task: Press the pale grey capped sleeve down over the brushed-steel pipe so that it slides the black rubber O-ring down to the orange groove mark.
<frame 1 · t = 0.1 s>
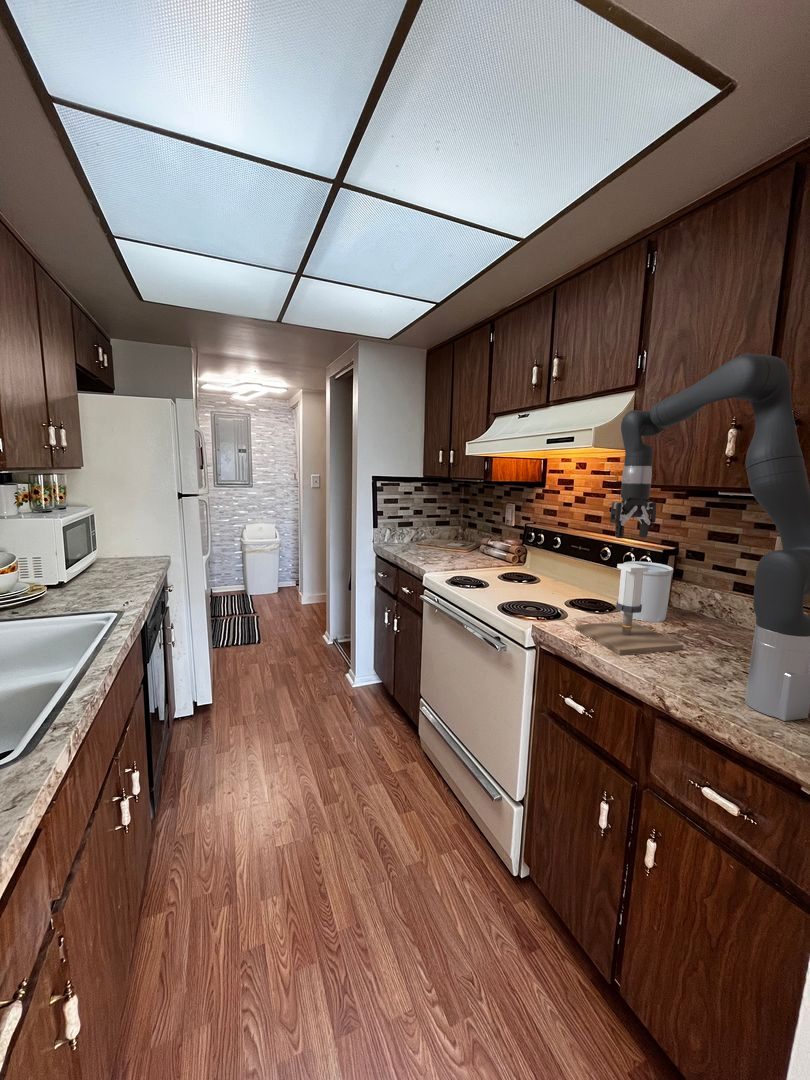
hand: (631, 537, 131), 29 cm above the worktop, fingers open, 8 cm apart
pipe stand: (625, 639, 130), on the worktop
utensil holder: (642, 616, 152), on the worktop
o ring: (628, 606, 129), point 10 cm above the worktop, slide at 0.0 cm
sleeve: (630, 584, 128), point 16 cm above the worktop, slide at 0.0 cm
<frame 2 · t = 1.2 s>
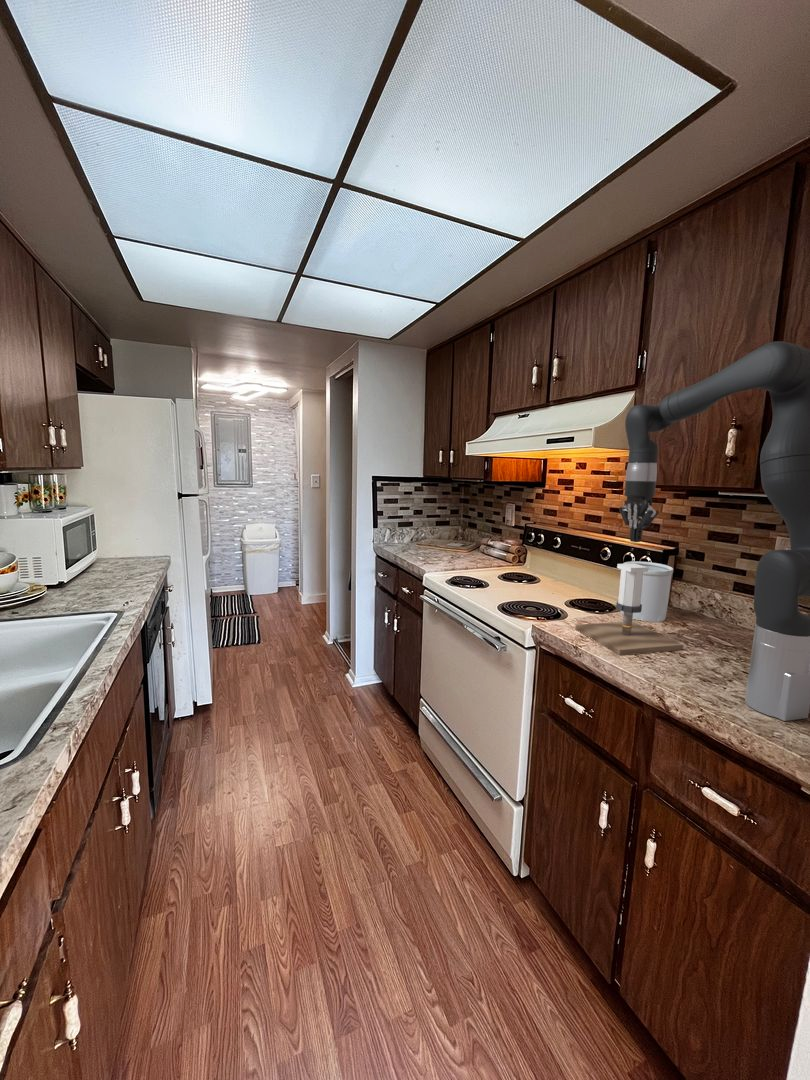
hand: (634, 541, 126), 29 cm above the worktop, fingers closed
nothing on the worktop moved.
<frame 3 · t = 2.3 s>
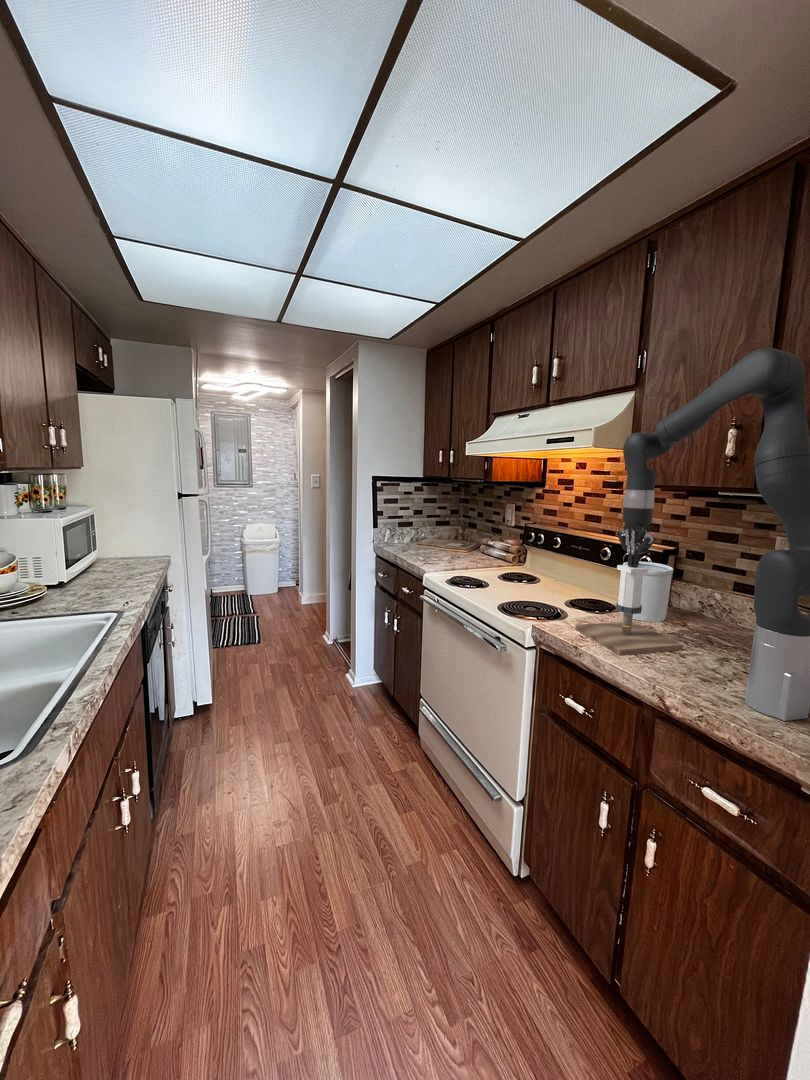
hand: (632, 566, 127), 22 cm above the worktop, fingers closed
o ring: (628, 607, 129), point 10 cm above the worktop, slide at 0.3 cm, touching sleeve
sleeve: (630, 586, 128), point 16 cm above the worktop, slide at 0.4 cm, touching gripper, o ring
everything else where it was.
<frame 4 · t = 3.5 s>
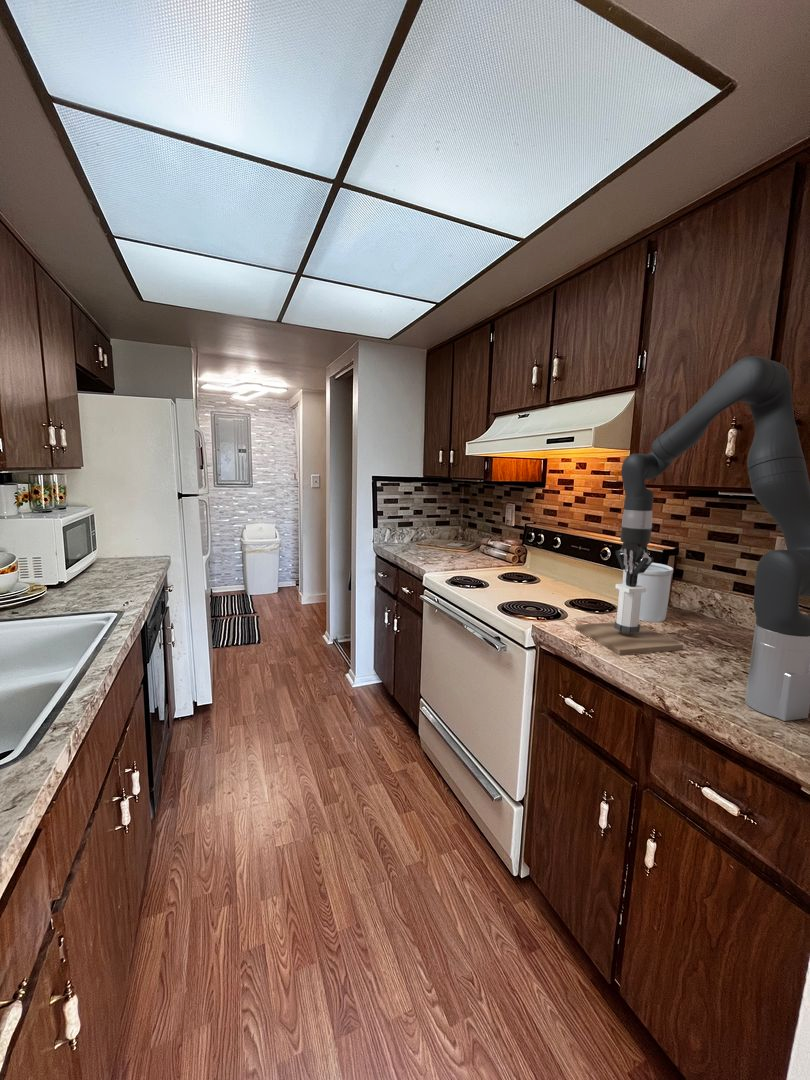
hand: (630, 586, 128), 16 cm above the worktop, fingers closed
o ring: (627, 626, 130), point 4 cm above the worktop, slide at 5.9 cm, touching sleeve
sleeve: (629, 604, 129), point 10 cm above the worktop, slide at 6.0 cm, touching gripper, o ring
everything else where it was.
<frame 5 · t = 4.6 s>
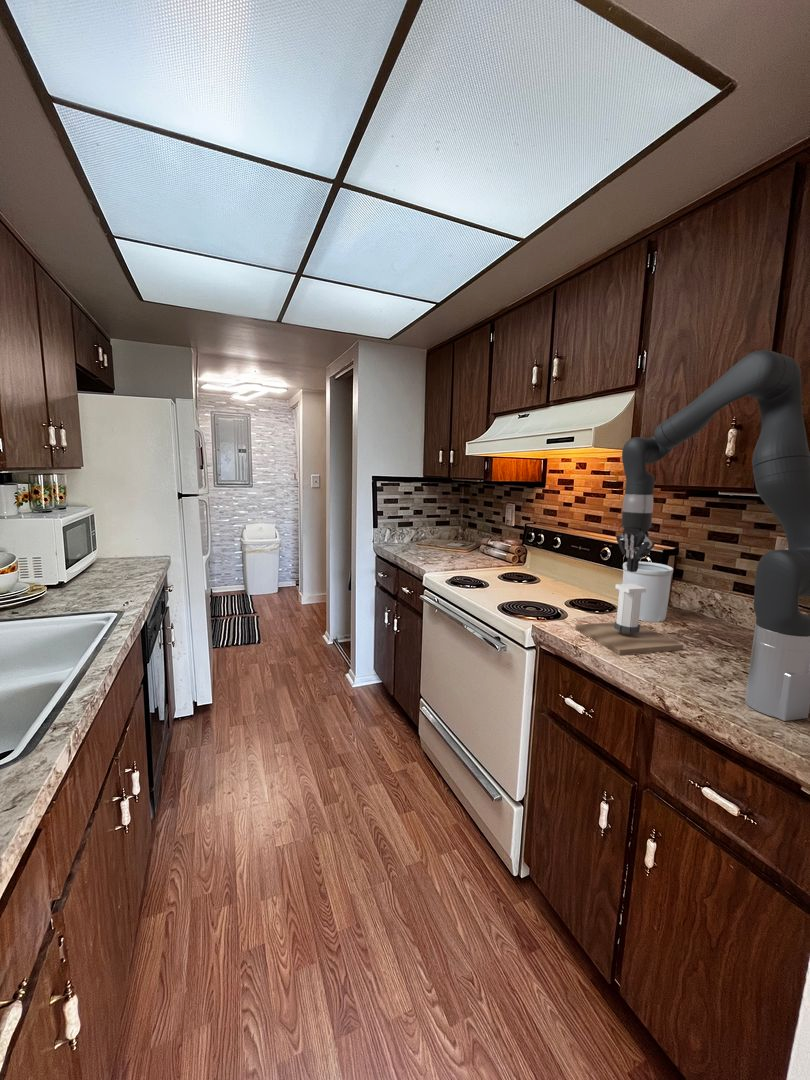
hand: (631, 571, 127), 20 cm above the worktop, fingers closed
sleeve: (629, 605, 129), point 10 cm above the worktop, slide at 6.0 cm, touching o ring
everything else where it was.
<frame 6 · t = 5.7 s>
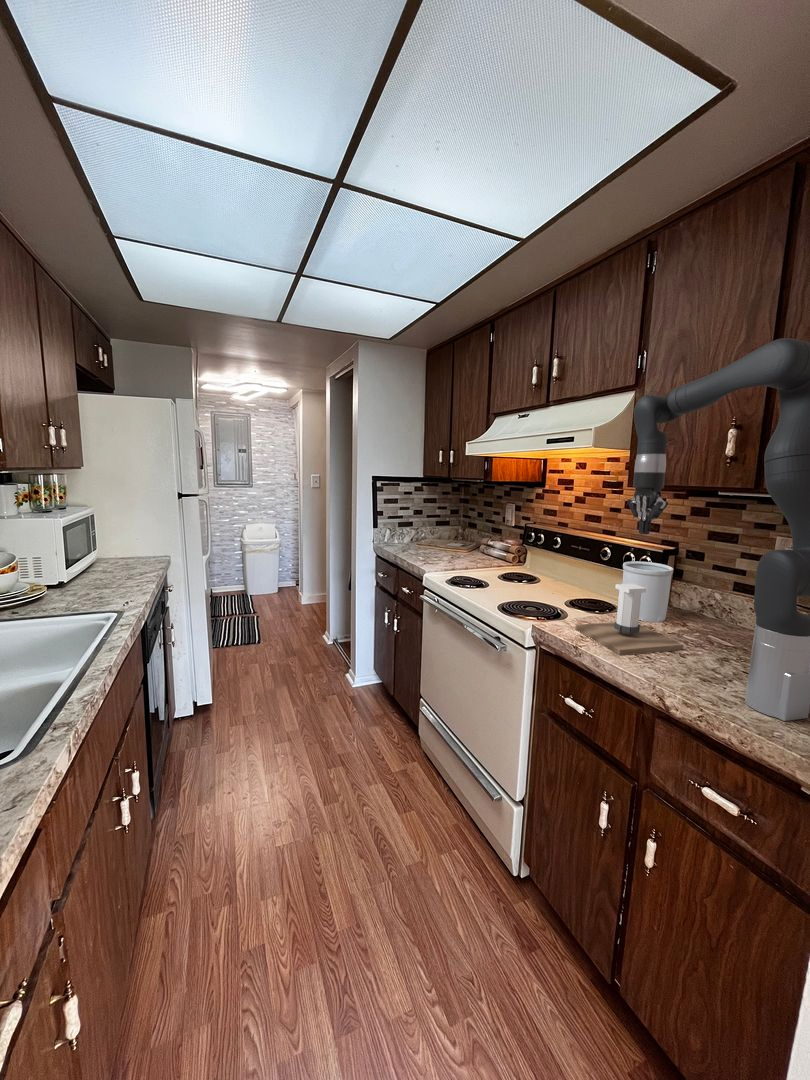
hand: (643, 533, 125), 31 cm above the worktop, fingers closed
nothing on the worktop moved.
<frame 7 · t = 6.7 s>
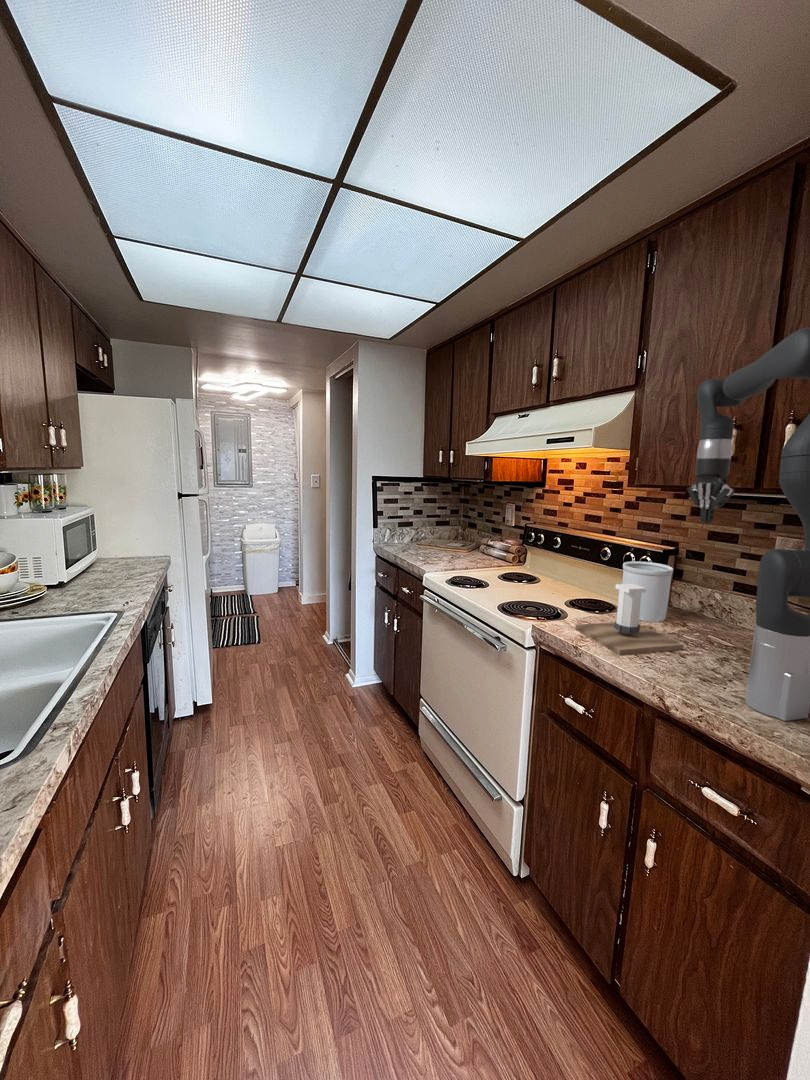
hand: (706, 522, 121), 35 cm above the worktop, fingers closed
nothing on the worktop moved.
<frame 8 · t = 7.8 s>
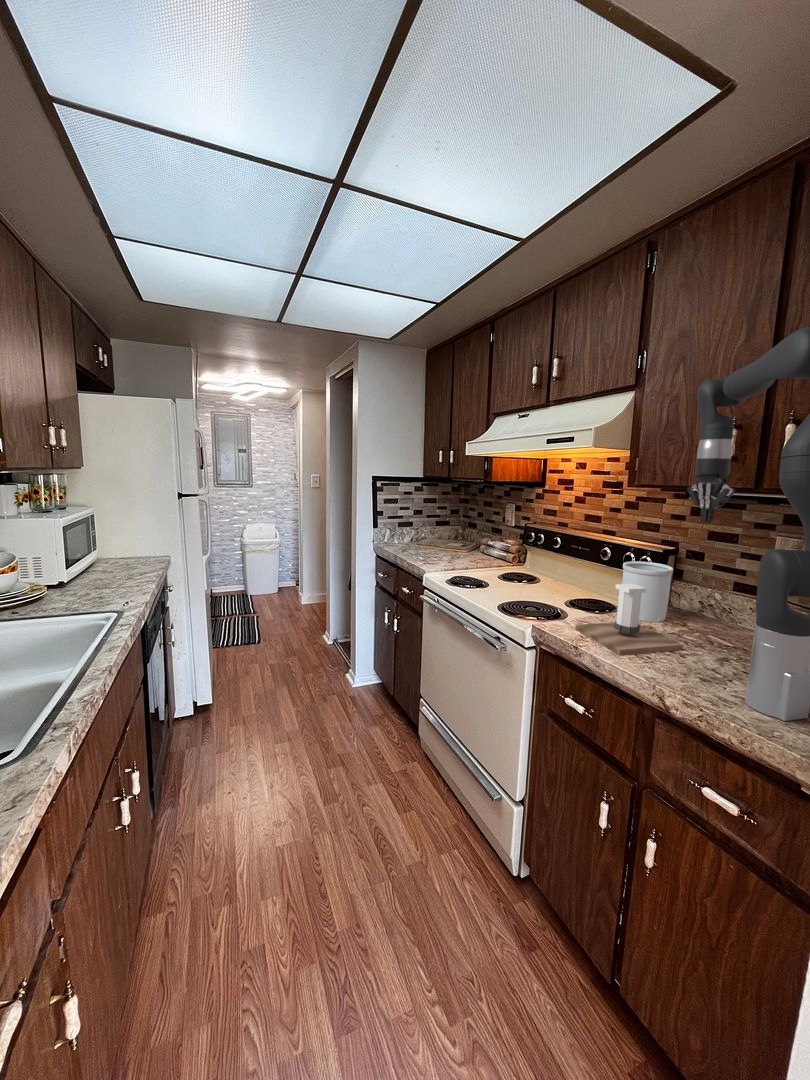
hand: (706, 522, 121), 35 cm above the worktop, fingers closed
nothing on the worktop moved.
at the end: o ring slide at 5.9 cm; sleeve slide at 6.0 cm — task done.
